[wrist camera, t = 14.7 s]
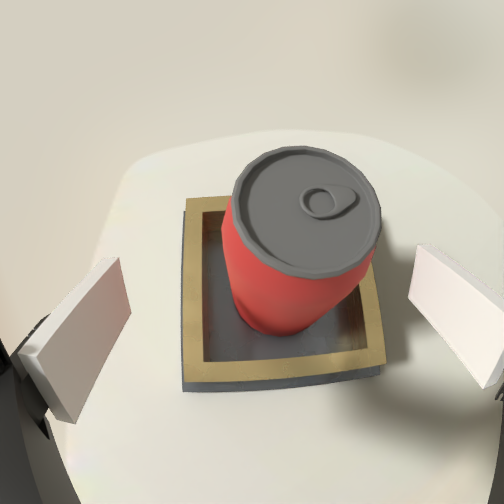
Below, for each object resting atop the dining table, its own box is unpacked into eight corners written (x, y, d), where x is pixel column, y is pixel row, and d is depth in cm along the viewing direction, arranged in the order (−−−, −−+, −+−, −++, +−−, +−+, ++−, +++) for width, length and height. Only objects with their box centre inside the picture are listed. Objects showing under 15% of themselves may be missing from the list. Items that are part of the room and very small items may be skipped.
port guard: (349, 209, 25) (362, 184, 22) (375, 374, 20) (398, 373, 16) (185, 215, 25) (176, 190, 21) (185, 391, 19) (171, 394, 16)
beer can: (336, 321, 21) (422, 260, 10) (247, 349, 20) (245, 319, 9) (306, 240, 23) (348, 126, 12) (222, 262, 22) (199, 153, 11)
